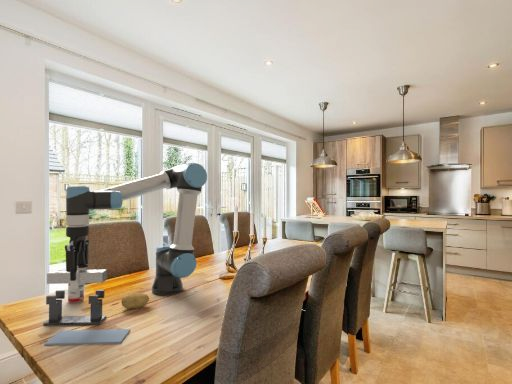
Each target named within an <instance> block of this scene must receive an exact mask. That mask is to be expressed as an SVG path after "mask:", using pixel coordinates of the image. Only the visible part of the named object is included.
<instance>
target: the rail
mask: <svg viewBox="0 0 512 384" xmlns="http://www.w3.org/2000/svg"><path fill="white" fill-rule="evenodd" d="M107 270H108V269H106V268H105V269H85V270H77V271H79V283H85V284H100V283H102V284H103V283H104V282H106V281H107V280H108V279H107V278H108V275H107V273H108V271H107ZM68 283H70V272H67V271H66V269H65V270H64V269H61V270H60V269H58V270H57V269H54V270H50V271H48V272H46V284H47V285H50V284H51V285H55V284H63V285H64V284H68Z"/></svg>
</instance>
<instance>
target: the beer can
mask: <svg viewBox="0 0 512 384" xmlns="http://www.w3.org/2000/svg"><path fill="white" fill-rule="evenodd" d="M78 268H79V267H78ZM67 286H68V290H67V302H69V303H70V304H76V303H80V302H82V301H83V300H84V299H85V284H84V285H79V288H78V289H70V283H67Z"/></svg>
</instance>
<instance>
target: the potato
mask: <svg viewBox="0 0 512 384" xmlns="http://www.w3.org/2000/svg"><path fill="white" fill-rule="evenodd" d="M149 301H150V297H149V295H148V294H147V293H140V292H131V293H126V294H124V295H123V297H122V298H121V300H120V303H121V305H122V307H123V308H124V309H131V310H132V309H140V308H143V307H146V305H147V304H148V303H149Z"/></svg>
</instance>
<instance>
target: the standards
mask: <svg viewBox="0 0 512 384" xmlns="http://www.w3.org/2000/svg"><path fill="white" fill-rule="evenodd" d="M65 295H66V290H62V289H59V290H55V295H46V297H45V298H46V299H45V300H46V301H45V304H46V305H48V319H47V320H45V321H44V322H43V324H42V325H43V326H44V327H47V326H49V327H51V326H55V327H57V326H93V325H94V326H98V325H101V324H102V323H103V322H104V321H105V320H106V319H107V315H103V299H104V298H105V289H96V290H95V294H90V295H88V305H90V315H66V316H65V315H63V299H65V298H66V297H65Z"/></svg>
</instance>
